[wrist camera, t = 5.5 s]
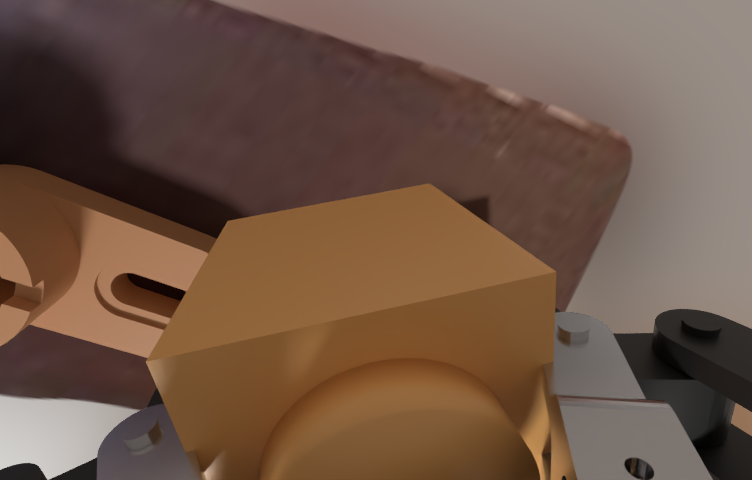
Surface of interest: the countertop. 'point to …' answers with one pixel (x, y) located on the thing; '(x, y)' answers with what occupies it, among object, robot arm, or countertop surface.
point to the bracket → (88, 262)
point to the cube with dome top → (362, 346)
